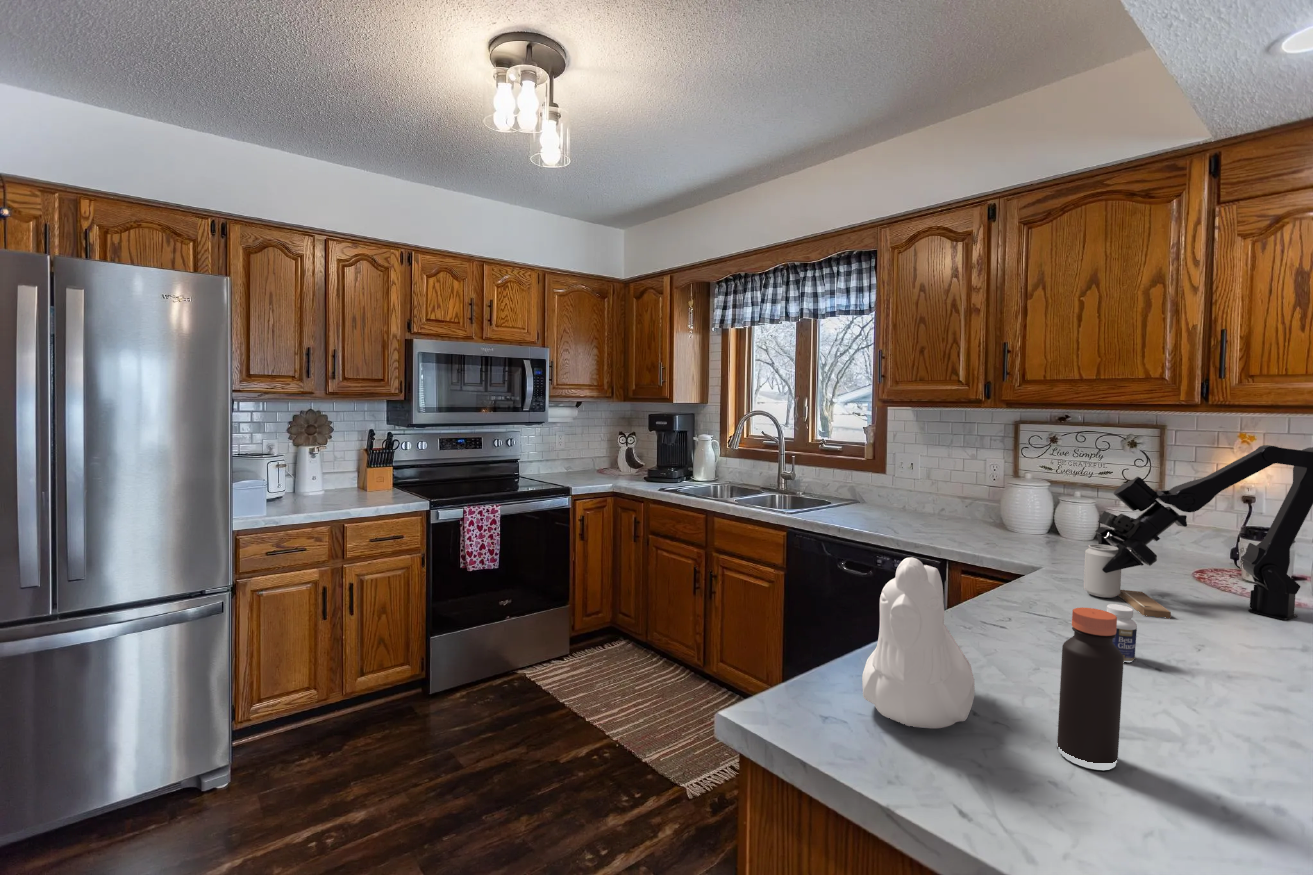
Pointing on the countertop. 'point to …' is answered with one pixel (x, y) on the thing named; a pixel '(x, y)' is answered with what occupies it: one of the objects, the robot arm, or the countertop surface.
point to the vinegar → (1091, 688)
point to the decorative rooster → (917, 654)
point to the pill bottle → (1124, 630)
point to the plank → (1144, 604)
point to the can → (1101, 571)
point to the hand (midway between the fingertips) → (1096, 567)
